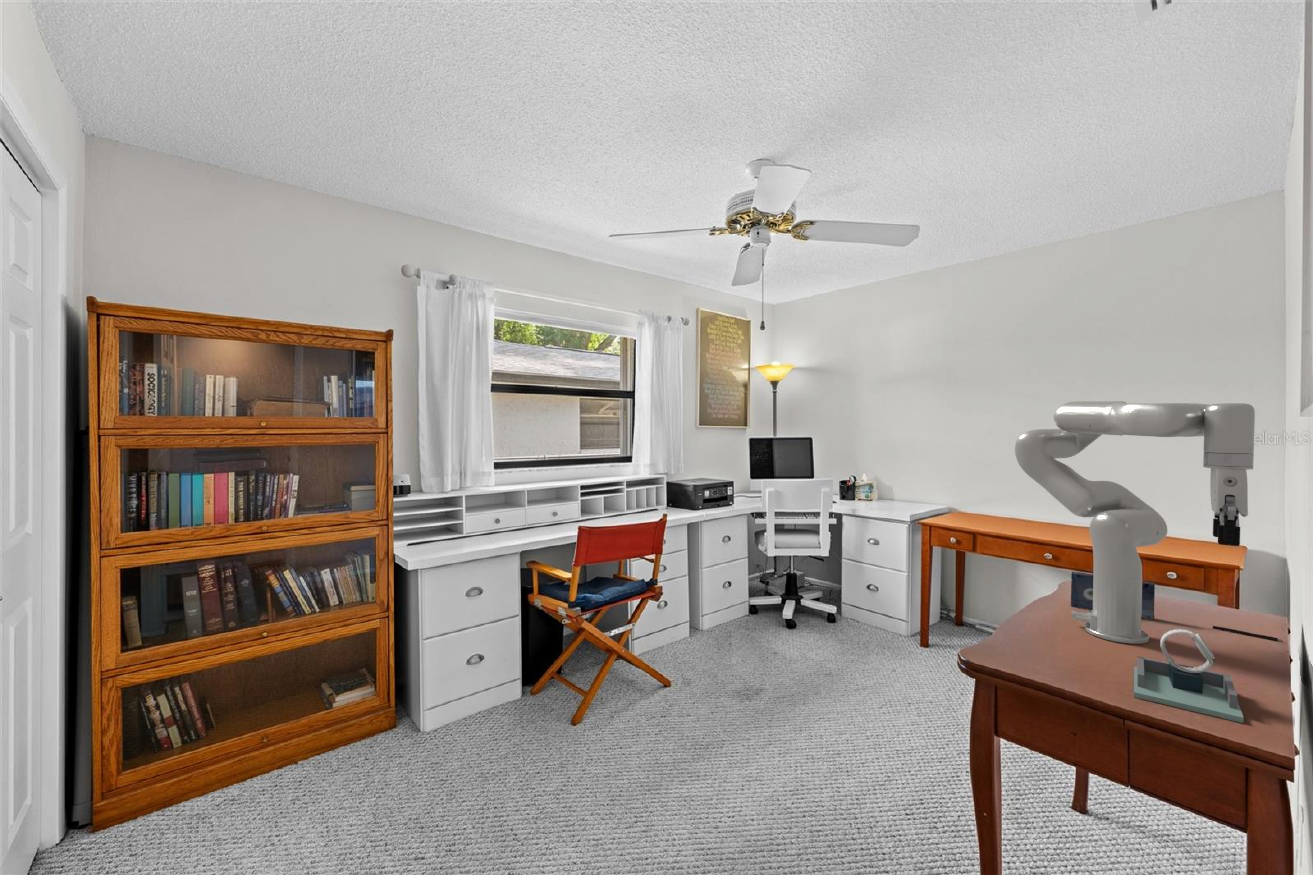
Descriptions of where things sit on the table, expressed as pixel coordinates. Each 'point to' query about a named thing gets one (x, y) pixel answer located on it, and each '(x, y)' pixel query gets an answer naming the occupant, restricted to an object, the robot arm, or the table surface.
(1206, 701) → the shallow grey tray
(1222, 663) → the table surface
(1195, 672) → the watch
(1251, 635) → the black pen
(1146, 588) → the vhs cassette tape
